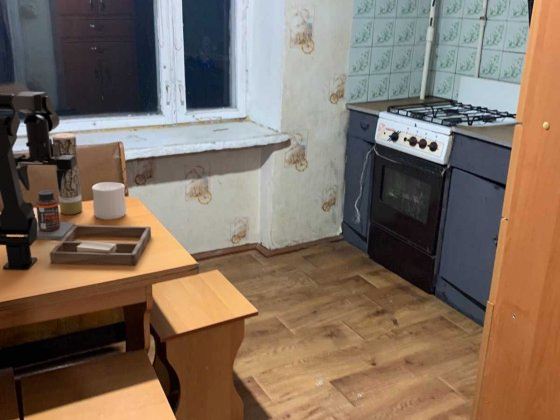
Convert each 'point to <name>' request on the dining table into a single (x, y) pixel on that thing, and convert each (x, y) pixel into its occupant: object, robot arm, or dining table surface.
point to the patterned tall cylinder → (69, 175)
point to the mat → (56, 234)
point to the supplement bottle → (47, 211)
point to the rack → (124, 252)
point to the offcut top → (96, 247)
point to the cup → (109, 200)
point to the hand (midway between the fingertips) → (44, 190)
